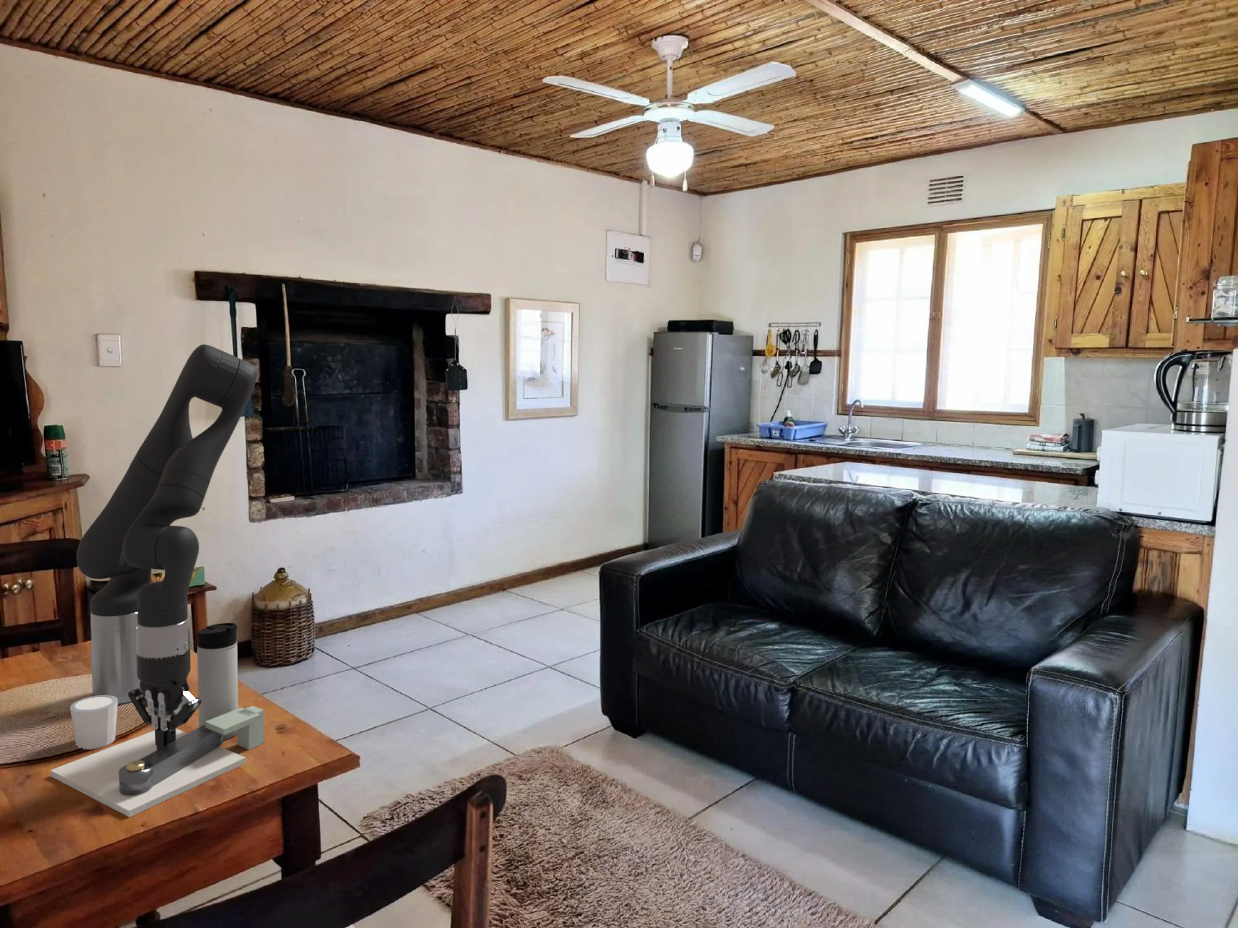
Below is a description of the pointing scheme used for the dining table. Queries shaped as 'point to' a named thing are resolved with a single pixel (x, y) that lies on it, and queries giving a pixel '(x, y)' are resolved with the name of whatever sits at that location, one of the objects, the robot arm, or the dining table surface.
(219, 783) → the dining table surface
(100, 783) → the base plate
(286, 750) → the dining table surface
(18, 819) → the dining table surface
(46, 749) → the dining table surface
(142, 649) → the robot arm
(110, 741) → the white cup
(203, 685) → the travel mug
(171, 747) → the link
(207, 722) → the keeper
